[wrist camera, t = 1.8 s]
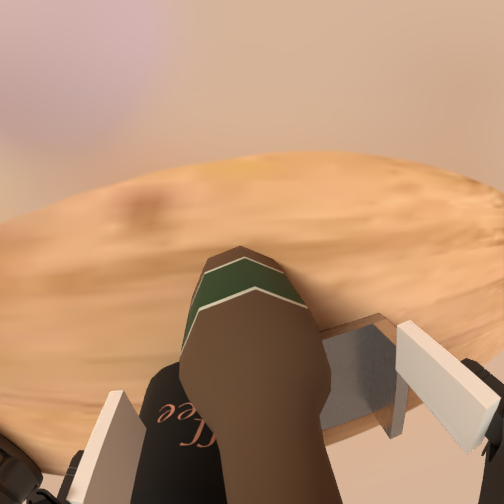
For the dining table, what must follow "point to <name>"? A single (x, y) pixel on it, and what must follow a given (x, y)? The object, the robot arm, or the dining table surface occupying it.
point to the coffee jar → (176, 448)
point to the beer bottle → (259, 381)
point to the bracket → (364, 375)
